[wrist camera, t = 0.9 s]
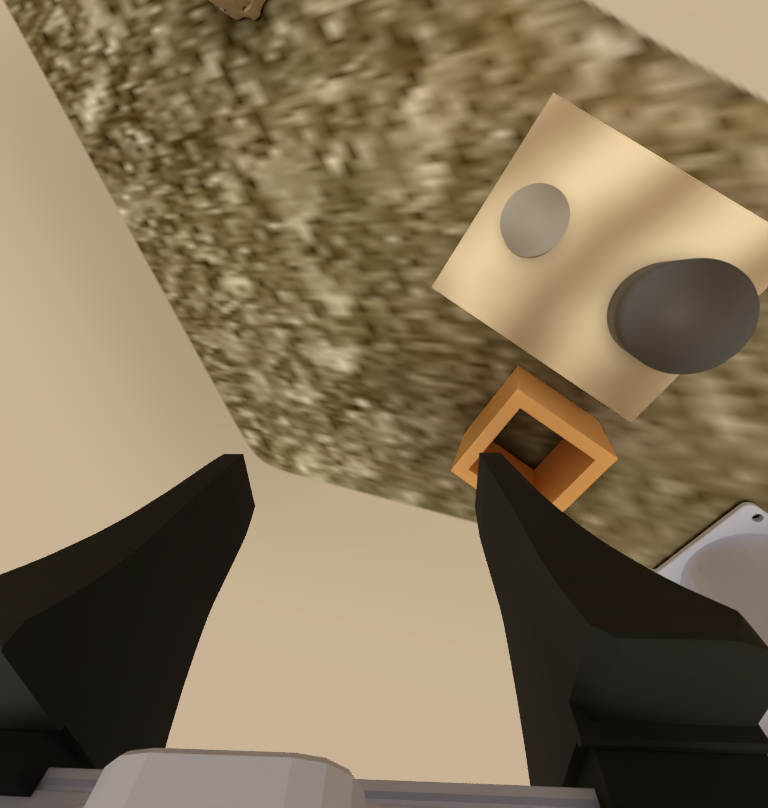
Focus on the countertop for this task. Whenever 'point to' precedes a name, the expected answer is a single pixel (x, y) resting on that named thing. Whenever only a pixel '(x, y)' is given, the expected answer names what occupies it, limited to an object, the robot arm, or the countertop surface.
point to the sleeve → (582, 433)
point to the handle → (240, 8)
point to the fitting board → (609, 262)
